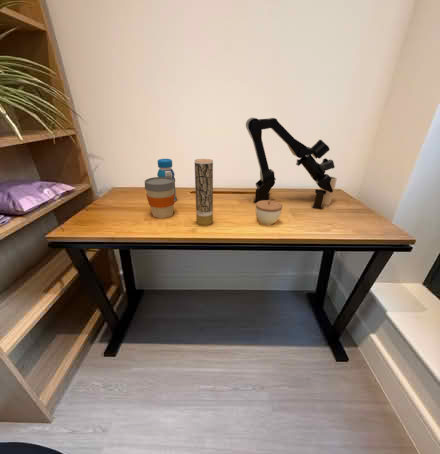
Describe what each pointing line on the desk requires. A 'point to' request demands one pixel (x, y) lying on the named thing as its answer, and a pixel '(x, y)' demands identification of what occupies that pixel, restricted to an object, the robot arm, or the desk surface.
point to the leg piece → (319, 198)
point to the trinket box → (268, 211)
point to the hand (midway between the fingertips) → (329, 189)
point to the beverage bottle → (166, 170)
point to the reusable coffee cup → (160, 196)
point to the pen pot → (328, 195)
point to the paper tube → (204, 191)
